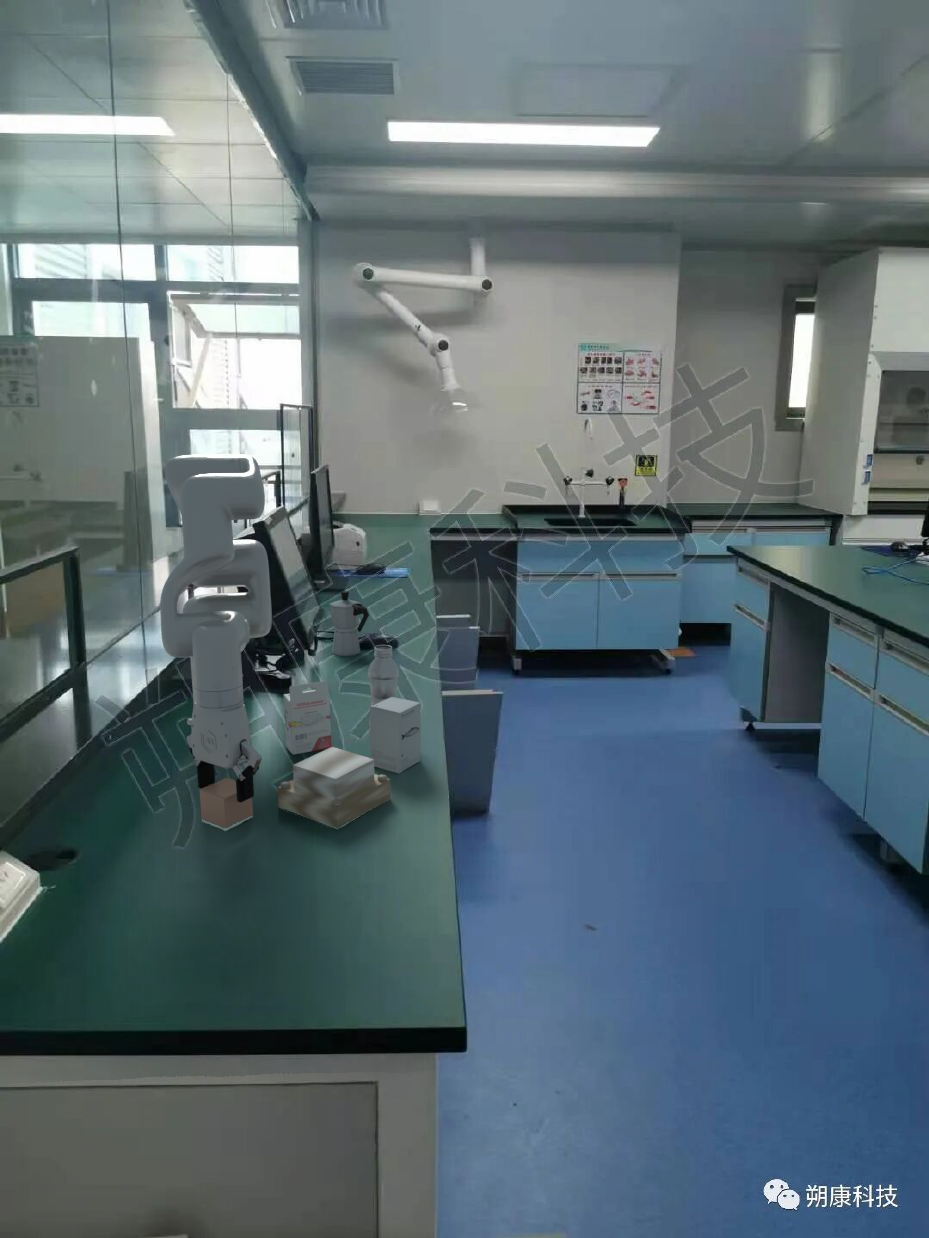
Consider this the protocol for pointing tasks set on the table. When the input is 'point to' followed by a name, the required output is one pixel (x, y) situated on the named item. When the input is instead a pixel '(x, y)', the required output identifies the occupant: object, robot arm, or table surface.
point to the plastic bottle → (383, 675)
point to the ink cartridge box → (307, 718)
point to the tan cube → (223, 804)
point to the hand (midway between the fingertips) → (225, 792)
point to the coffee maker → (347, 625)
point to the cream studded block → (334, 787)
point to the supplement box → (395, 734)
